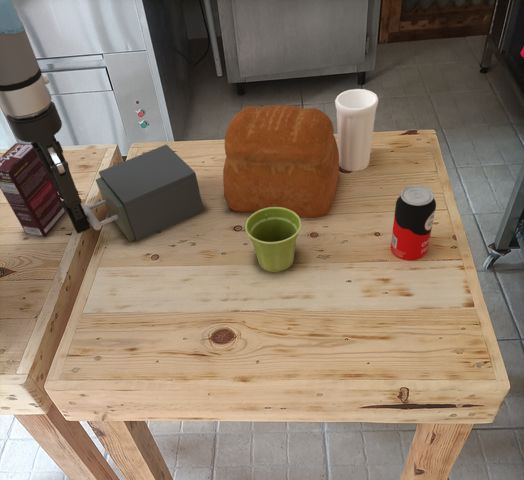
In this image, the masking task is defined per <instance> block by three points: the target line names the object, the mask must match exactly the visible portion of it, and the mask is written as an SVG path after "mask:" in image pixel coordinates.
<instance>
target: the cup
mask: <svg viewBox="0 0 524 480" xmlns="http://www.w3.org/2000/svg"><path fill="white" fill-rule="evenodd" d="M377 95H378V94H376V93H375V92H373V91H371V90H368V89H366V88H365V89H364V88H353V89H347V90H345V91H342V92H341V93H340V94H338V95H337V96H336V98H335V100H334V104H335V109H336V131H337V134H336V135H337V147H338V152H339V168H341V169H342V170H345V171H349V172H358V171H359V172H360V171H362V170H364V169H367V167H369V164H370V158H371V151H372V143H373V136H374V135H373V134H374V126H375V119H376V113H377V107H378V104H379V98H378V96H377Z"/></svg>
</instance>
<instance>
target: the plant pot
mask: <svg viewBox="0 0 524 480" xmlns="http://www.w3.org/2000/svg"><path fill="white" fill-rule="evenodd" d="M244 229H245V233H246V235H247V236H248V237H249V238H250V240H251V242H252V244H253V248H254V252H255V255H256V258H257V262H258V265H259V266H260V267H261V268H262V269H263V270H264V271H267V272H272V273H278V272H283V271H285V270H287V269H288V268H290V267H291V266H292V265H293V264H294V260H295V251H296V243H297V238H298V236H299V233H300V232H301V229H302V219H301V218H300V216H298V215H297V214H296V213H295V212H293V211H291V210H289V209H286V208H282V207H269V208H264V209H261V210H259V211H257V212H252V213H251V215H249V217H248V218H247V219H246V221H245V224H244Z"/></svg>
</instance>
